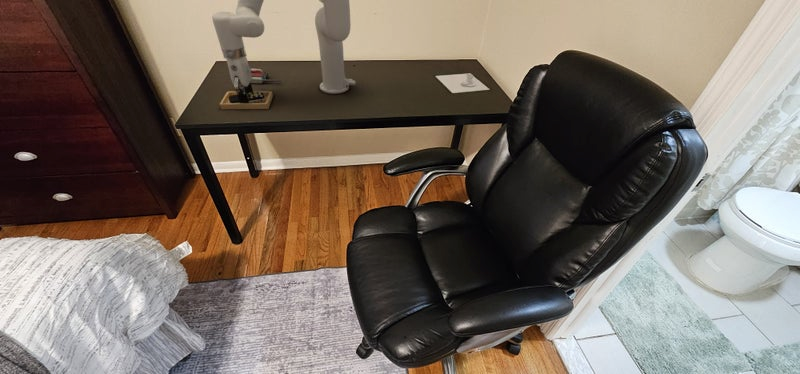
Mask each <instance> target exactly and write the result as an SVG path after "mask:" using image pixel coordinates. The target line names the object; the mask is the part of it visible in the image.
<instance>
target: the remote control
mask: <svg viewBox="0 0 800 374" xmlns="http://www.w3.org/2000/svg"><path fill="white" fill-rule="evenodd" d="M247 97H248V100H249V103H255V102H262V101H264V100H265V96H264V94H263V93H262V92H253V93H247ZM229 101H230V103H240V102H239V98H238V95H231V96H229Z"/></svg>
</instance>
